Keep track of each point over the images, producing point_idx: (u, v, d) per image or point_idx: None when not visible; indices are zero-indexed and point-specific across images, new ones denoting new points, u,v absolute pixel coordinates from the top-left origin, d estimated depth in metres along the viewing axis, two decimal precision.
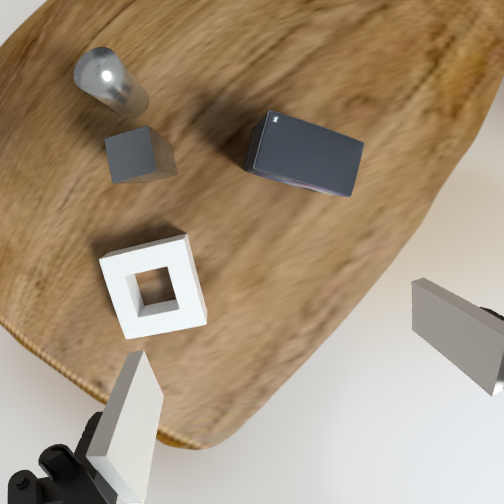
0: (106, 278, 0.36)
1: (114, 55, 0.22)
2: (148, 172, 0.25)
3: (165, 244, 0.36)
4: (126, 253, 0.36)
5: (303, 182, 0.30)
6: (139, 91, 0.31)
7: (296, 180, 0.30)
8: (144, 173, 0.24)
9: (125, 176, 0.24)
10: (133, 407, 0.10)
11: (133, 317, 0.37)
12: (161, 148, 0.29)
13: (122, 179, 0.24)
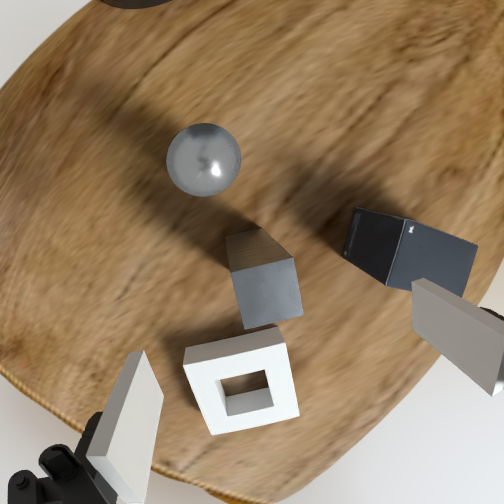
0: (192, 383, 0.32)
1: (233, 141, 0.18)
2: (292, 316, 0.21)
3: (264, 348, 0.32)
4: (217, 359, 0.32)
5: None
6: None
7: None
8: (287, 317, 0.21)
9: (262, 321, 0.20)
10: (133, 407, 0.10)
11: (222, 416, 0.33)
12: None
13: (258, 325, 0.20)
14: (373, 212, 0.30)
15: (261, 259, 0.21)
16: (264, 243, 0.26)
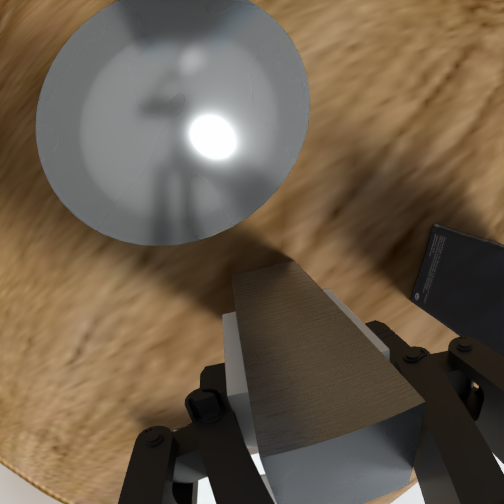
0: None
1: (281, 39, 0.04)
2: (387, 491, 0.07)
3: None
4: None
5: None
6: None
7: None
8: (377, 496, 0.07)
9: None
10: None
11: None
12: None
13: None
14: (473, 238, 0.16)
15: (336, 396, 0.07)
16: (317, 315, 0.12)
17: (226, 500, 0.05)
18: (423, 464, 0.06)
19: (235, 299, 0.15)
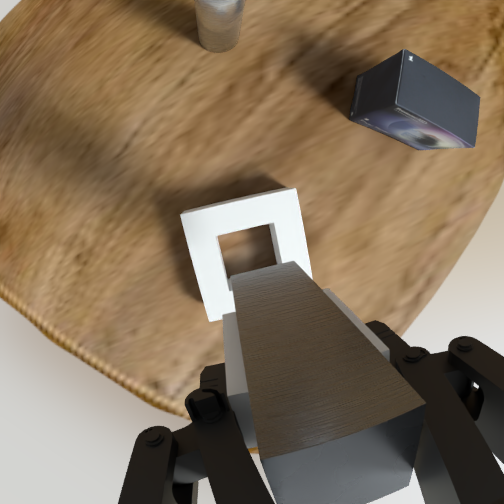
0: (189, 240, 0.29)
1: None
2: (387, 492, 0.07)
3: (273, 194, 0.29)
4: (220, 206, 0.29)
5: (438, 126, 0.23)
6: (242, 16, 0.24)
7: (432, 123, 0.23)
8: (378, 497, 0.07)
9: None
10: None
11: (223, 291, 0.31)
12: None
13: None
14: (374, 66, 0.27)
15: (336, 398, 0.07)
16: (318, 316, 0.12)
17: (226, 500, 0.05)
18: (423, 464, 0.06)
19: (235, 300, 0.15)
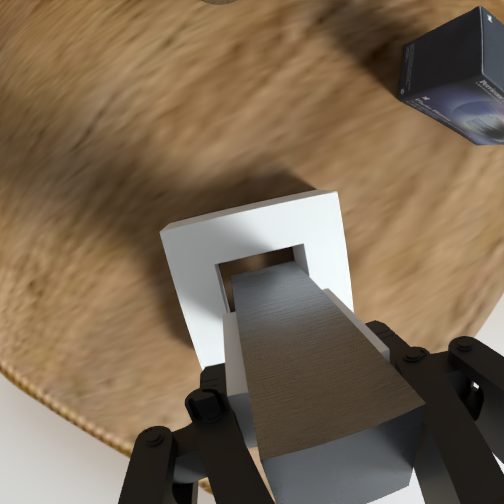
0: (174, 271, 0.19)
1: None
2: (387, 492, 0.07)
3: (303, 200, 0.19)
4: (221, 218, 0.19)
5: None
6: None
7: None
8: (377, 497, 0.07)
9: None
10: None
11: None
12: None
13: None
14: (432, 30, 0.16)
15: (336, 398, 0.07)
16: (318, 316, 0.12)
17: (226, 500, 0.05)
18: (423, 464, 0.06)
19: (235, 300, 0.15)
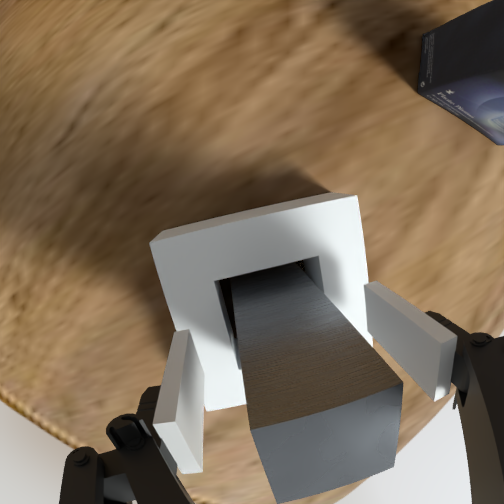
0: (167, 288, 0.16)
1: None
2: (373, 472, 0.08)
3: (318, 206, 0.16)
4: (222, 227, 0.16)
5: None
6: None
7: None
8: (364, 476, 0.08)
9: (315, 490, 0.08)
10: (187, 379, 0.11)
11: (228, 370, 0.17)
12: None
13: (305, 495, 0.08)
14: None
15: (321, 377, 0.08)
16: (309, 306, 0.13)
17: None
18: (476, 446, 0.06)
19: (233, 292, 0.16)
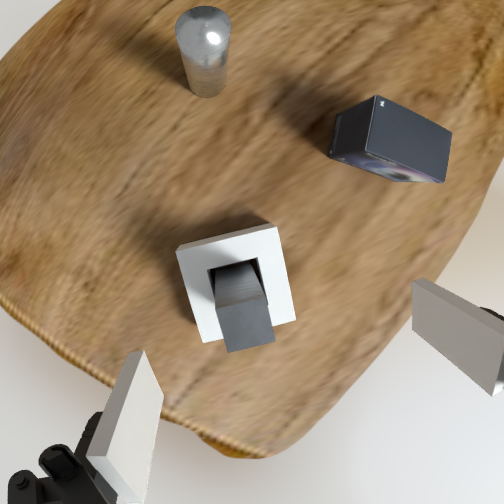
0: (183, 273, 0.33)
1: (225, 16, 0.20)
2: (266, 342, 0.25)
3: (256, 233, 0.33)
4: (210, 244, 0.33)
5: (407, 167, 0.28)
6: None
7: (401, 164, 0.27)
8: (262, 343, 0.25)
9: (242, 346, 0.25)
10: (133, 407, 0.10)
11: (214, 317, 0.35)
12: None
13: (238, 349, 0.25)
14: (351, 107, 0.31)
15: (240, 296, 0.26)
16: (246, 278, 0.30)
17: None
18: None
19: (216, 275, 0.34)
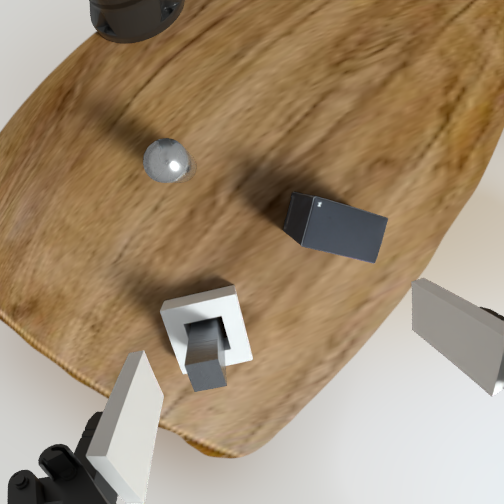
0: (166, 326, 0.43)
1: (182, 149, 0.29)
2: (220, 386, 0.35)
3: (220, 298, 0.43)
4: (185, 306, 0.43)
5: (339, 254, 0.37)
6: (193, 165, 0.38)
7: (334, 253, 0.37)
8: (217, 386, 0.35)
9: (204, 388, 0.35)
10: (133, 407, 0.10)
11: None
12: (220, 348, 0.39)
13: (201, 389, 0.35)
14: (300, 194, 0.41)
15: (202, 356, 0.35)
16: (210, 336, 0.40)
17: None
18: None
19: (190, 328, 0.44)
